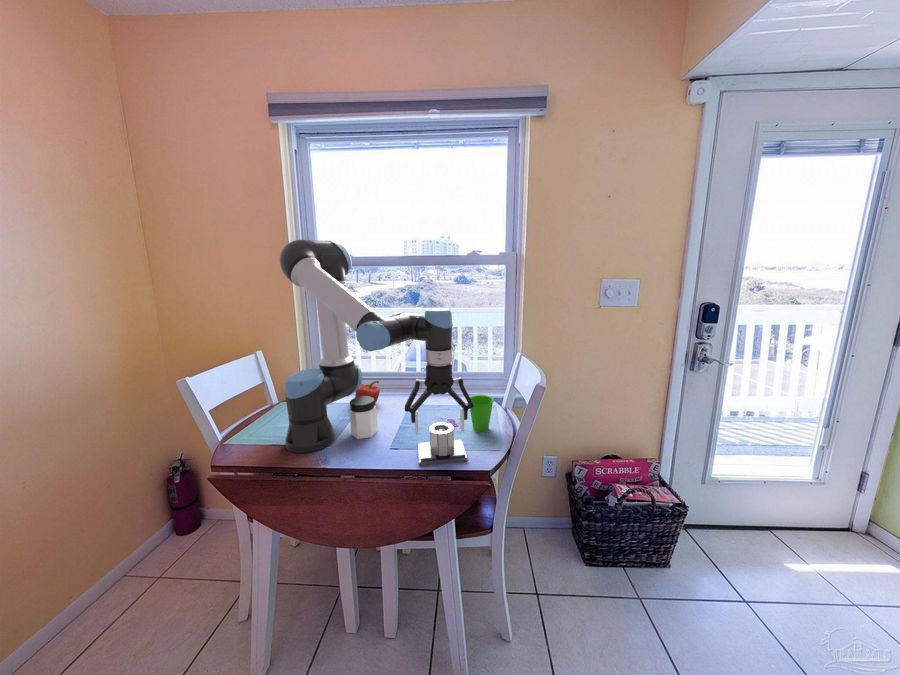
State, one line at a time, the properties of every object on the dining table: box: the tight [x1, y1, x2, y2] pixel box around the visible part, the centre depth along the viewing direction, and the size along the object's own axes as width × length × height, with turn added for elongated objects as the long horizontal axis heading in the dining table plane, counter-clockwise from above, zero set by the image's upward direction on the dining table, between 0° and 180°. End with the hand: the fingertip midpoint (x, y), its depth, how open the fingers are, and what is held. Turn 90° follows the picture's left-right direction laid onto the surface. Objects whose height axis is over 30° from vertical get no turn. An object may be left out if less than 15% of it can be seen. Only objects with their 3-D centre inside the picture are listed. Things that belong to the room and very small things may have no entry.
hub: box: [429, 422, 455, 456], centre depth 103 cm, size 7×7×7 cm
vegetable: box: [354, 380, 381, 405], centre depth 142 cm, size 11×10×10 cm
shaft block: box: [417, 427, 468, 467], centre depth 104 cm, size 14×10×8 cm
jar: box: [348, 396, 379, 440], centre depth 118 cm, size 9×8×12 cm
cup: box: [469, 394, 495, 434], centre depth 119 cm, size 9×9×11 cm
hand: (439, 430), depth 104 cm, fingers open, 13 cm apart
